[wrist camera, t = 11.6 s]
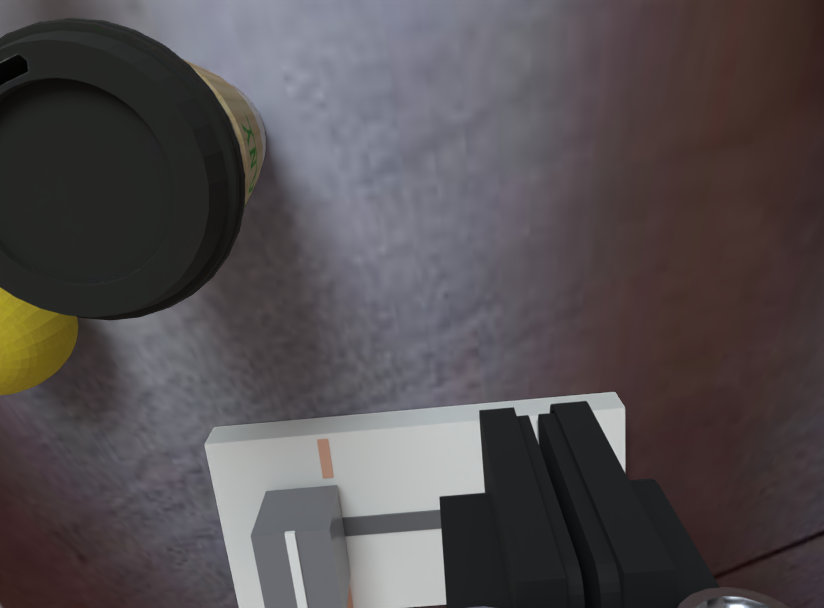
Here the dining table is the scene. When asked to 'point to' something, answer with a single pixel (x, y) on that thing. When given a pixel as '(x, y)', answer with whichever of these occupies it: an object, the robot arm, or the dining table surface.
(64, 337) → the lemon
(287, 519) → the fader
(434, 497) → the fader board
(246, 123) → the coffee cup
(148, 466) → the dining table surface
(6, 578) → the dining table surface
